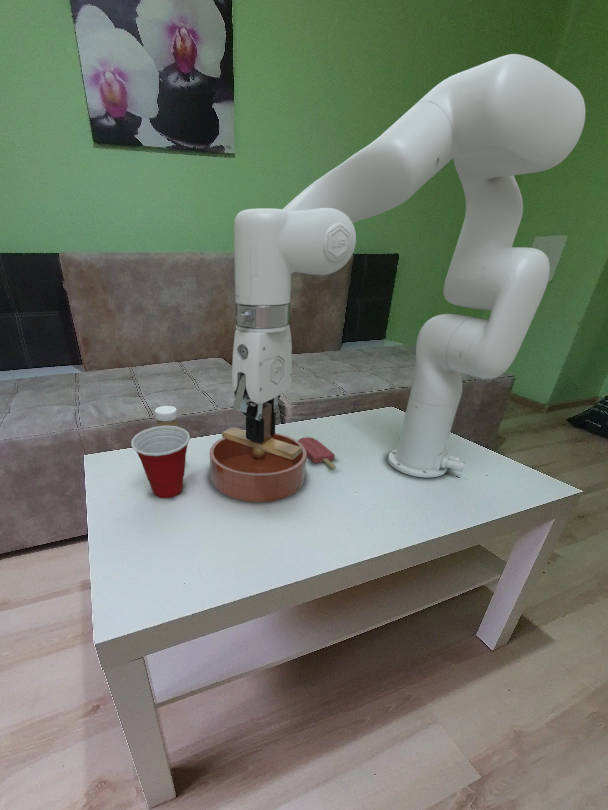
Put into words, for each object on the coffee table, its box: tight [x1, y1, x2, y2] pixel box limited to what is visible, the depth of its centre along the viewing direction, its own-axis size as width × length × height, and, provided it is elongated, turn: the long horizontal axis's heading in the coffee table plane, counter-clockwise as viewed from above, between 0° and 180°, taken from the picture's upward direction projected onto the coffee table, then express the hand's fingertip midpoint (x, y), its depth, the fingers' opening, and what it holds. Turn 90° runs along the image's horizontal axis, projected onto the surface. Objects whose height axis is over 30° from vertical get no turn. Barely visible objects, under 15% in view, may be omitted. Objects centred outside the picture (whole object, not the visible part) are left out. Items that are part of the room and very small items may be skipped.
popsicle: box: [297, 436, 336, 469], centre depth 91 cm, size 5×2×15 cm
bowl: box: [209, 432, 307, 503], centre depth 82 cm, size 20×20×6 cm
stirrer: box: [221, 403, 302, 460], centre depth 62 cm, size 14×3×7 cm, turn 54°
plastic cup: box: [130, 426, 191, 499], centre depth 75 cm, size 11×11×12 cm
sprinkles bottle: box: [154, 405, 179, 427], centre depth 83 cm, size 5×5×13 cm
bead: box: [252, 448, 265, 458], centre depth 88 cm, size 3×3×3 cm
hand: (260, 436), depth 63 cm, fingers closed on stirrer, 2 cm apart
